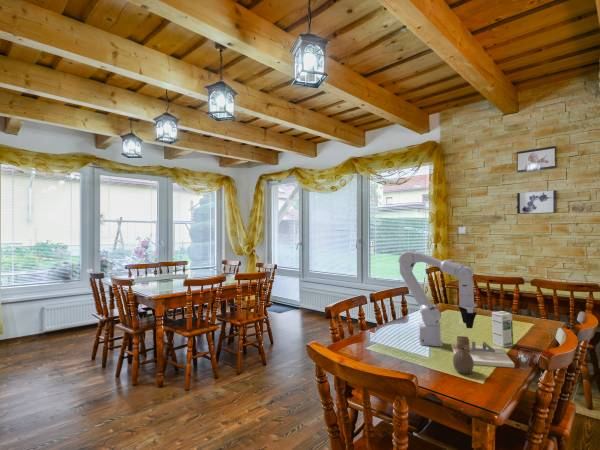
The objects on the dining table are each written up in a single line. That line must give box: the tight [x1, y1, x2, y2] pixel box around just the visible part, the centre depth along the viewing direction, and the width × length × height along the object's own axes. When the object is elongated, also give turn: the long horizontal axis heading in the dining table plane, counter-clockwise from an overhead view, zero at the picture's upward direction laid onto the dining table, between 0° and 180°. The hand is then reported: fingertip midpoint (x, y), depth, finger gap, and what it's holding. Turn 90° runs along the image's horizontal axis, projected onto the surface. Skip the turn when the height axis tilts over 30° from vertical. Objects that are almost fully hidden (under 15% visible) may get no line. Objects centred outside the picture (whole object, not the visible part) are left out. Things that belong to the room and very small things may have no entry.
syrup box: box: [491, 310, 514, 348], centre depth 153 cm, size 6×6×14 cm
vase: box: [452, 347, 475, 375], centre depth 126 cm, size 7×7×9 cm
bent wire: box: [471, 341, 495, 352], centre depth 139 cm, size 8×9×4 cm
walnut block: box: [456, 335, 470, 352], centre depth 144 cm, size 4×4×5 cm
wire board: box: [450, 343, 515, 369], centre depth 140 cm, size 20×18×2 cm
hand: (467, 325), depth 149 cm, fingers open, 7 cm apart
